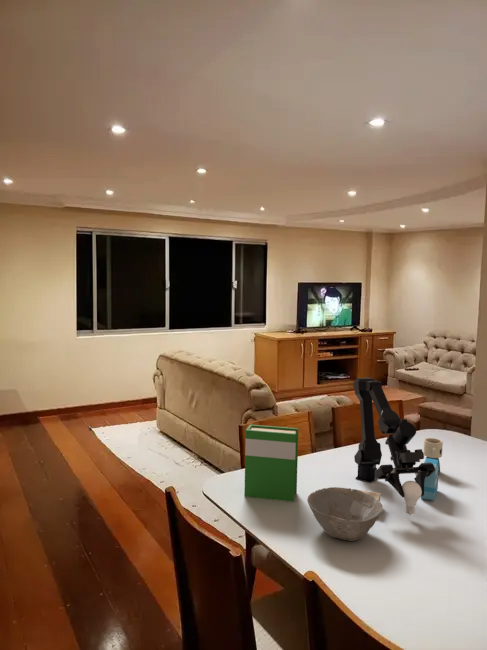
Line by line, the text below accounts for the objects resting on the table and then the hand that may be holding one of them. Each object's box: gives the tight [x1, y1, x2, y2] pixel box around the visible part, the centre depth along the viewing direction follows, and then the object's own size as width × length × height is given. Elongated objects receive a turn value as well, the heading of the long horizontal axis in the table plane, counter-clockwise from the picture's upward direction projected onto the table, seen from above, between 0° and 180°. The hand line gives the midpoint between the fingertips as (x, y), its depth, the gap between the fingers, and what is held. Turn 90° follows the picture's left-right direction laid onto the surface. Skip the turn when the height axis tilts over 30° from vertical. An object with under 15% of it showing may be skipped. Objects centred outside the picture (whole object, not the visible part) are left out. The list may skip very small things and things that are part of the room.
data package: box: [420, 457, 440, 502], centre depth 186 cm, size 12×4×12 cm, turn 153°
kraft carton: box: [359, 489, 381, 503], centre depth 173 cm, size 7×7×5 cm
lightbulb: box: [401, 480, 422, 516], centre depth 166 cm, size 6×6×11 cm
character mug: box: [423, 437, 444, 473], centre depth 208 cm, size 11×7×13 cm, turn 165°
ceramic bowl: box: [306, 486, 384, 542], centre depth 156 cm, size 22×23×10 cm
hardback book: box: [243, 424, 299, 503], centre depth 183 cm, size 18×7×24 cm, turn 77°
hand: (413, 496), depth 164 cm, fingers closed on lightbulb, 6 cm apart
